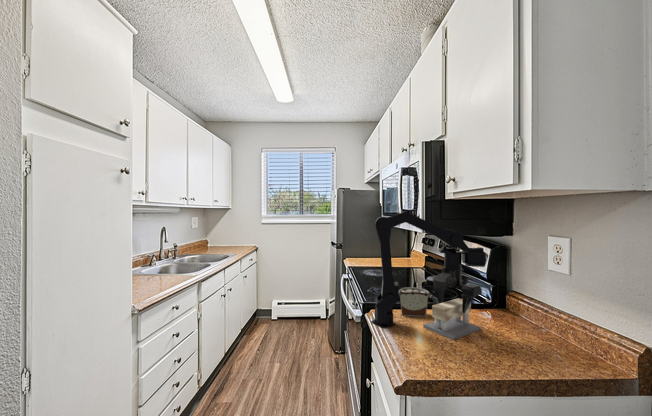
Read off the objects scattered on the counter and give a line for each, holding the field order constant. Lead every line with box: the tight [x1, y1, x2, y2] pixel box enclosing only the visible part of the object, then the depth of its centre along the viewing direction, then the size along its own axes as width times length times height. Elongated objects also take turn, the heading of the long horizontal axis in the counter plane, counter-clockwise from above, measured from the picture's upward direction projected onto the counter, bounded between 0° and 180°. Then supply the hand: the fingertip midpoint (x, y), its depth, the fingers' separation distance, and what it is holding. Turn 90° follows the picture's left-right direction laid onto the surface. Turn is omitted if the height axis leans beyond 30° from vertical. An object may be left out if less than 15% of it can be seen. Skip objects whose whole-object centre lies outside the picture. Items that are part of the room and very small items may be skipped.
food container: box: [398, 286, 431, 317], centre depth 123 cm, size 12×6×10 cm, turn 84°
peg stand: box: [422, 313, 482, 341], centre depth 108 cm, size 12×16×5 cm
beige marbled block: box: [431, 297, 472, 321], centre depth 108 cm, size 16×5×4 cm, turn 125°
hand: (451, 309), depth 108 cm, fingers open, 9 cm apart
